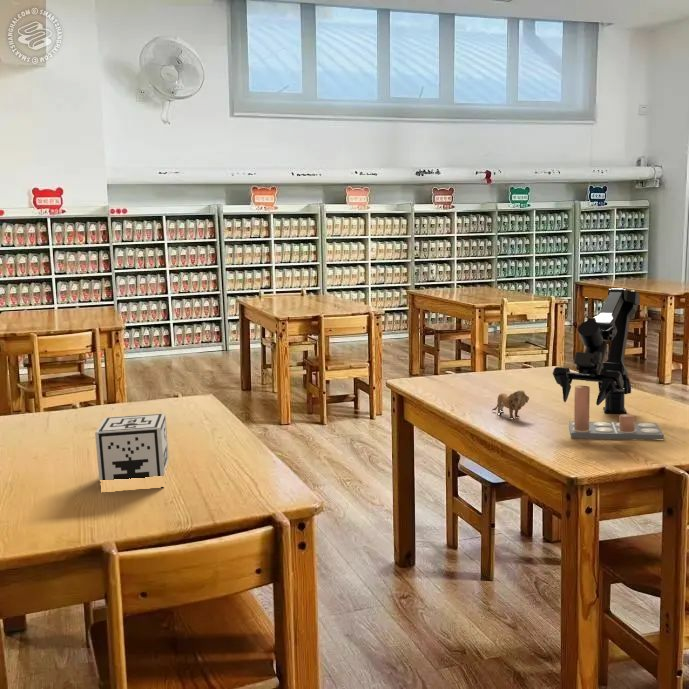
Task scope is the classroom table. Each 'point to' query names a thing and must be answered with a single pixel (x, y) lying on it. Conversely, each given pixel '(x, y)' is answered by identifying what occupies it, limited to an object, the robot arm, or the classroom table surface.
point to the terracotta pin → (581, 408)
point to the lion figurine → (512, 402)
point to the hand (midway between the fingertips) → (580, 402)
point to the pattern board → (618, 430)
